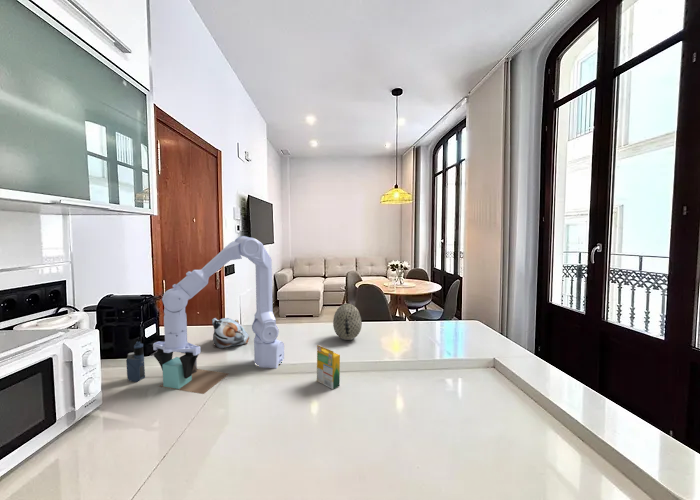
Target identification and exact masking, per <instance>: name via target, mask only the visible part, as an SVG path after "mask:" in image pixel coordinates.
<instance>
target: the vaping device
mask: <svg viewBox="0 0 700 500" xmlns="http://www.w3.org/2000/svg"><path fill="white" fill-rule="evenodd" d="M125 360H126V378H127V380H128V381H129V382H134V383H135V382H136V383H139V382H140V381H141V380H143V379H145V378H146V373H145V372H146V371H145V370H146V369H145V356H144V343H141V341H136V343H135V344H134V345H133V352H129V353H127V357H126V359H125Z"/></svg>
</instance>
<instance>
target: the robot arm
mask: <svg viewBox="0 0 700 500" xmlns="http://www.w3.org/2000/svg"><path fill="white" fill-rule="evenodd" d="M243 257H245V258H246V259H248V260H249V261H250V262H252V264H254V265H255V295H256V296H255V298H256V299H255V305H256V309H255V313H254V319H253V322H252V323H251V330H252V332H253V333H254V334H255V335H254V339H253V348H254V349H253V351H254V352H253V353H254V354H253V357H254V358H253V359H254V361H253V362H255V363H256V364H257V365H259V367H258V368H271V369H277V368H278V364H279V363H281V361H283V359H284V360H285V343H284V341H282V340H279V339H278V336H279V333H280V331H279V328H278V325H277V322H276V321H277V320H276V316H275V315H274V312H273V268H272V267H273V266H272V265H273V262H272V257H271V256H270V254H269V253H268V251H267V249H266V248H265V246H264V244H263V243H262V242H261V241H260V240H258V239H256V238H254V237H249V236H246V235H240V236H239V237H236V238H235V240H234V241H231V242H229V243H228V244H227V245H226V246H225V247H224V248H223V249H221V250H220V252H219V253H218V254H216V255H215V256H214V257H213V258H212V259H211V260H210V261H208V262H207V263H206V264H205V265H204V266H203V267H202V268H201V269H192V271H191V270H190V271H189V270H188V271H187V272H186V273H185V275H186V276H185V277H184V278H182V279H181V280H180V281H179V282H178V283H174V284H172V288H170V289H167V290H166V291H165V292H164V293H163V295H162V298H161V301H162V303H163V306H164V309H163V314H164V316H163V330H164V341H156V342H154V343H153V344H152V347H153V351H156V352H154V353H153V357H154V358H155V359H156V361H157V362H158V364H159V365H160V368H161V370H162V372H163V366H162V365H163V364H164V363H166V362H168V361H170V360H172V359H173V354H174V353H184V354H183V355H182V356H180V360H181V363H182V366H183V373H184V378H185V379H187V378H188V377H190V376H191V375H192V370H193V366H194V363H195V361H196V359H198V357H199V355H200V354H201V346H199V345H195V344H193V343H190V342H188V321H187V312H186V307H187V305H188V302H189V300H191V299H193V298H194V296H196V295H197V294H198V293H199V292H200V291H201V290H203V289H204V288H205V287H206V286H207V285H208V284H209V279H210V277H212V275H214V274H215V273H216V272H218V271H219V270H220V269H221V268H223V267H224V266H225V265H226V264H228V263H229V262H230V261H235V260H236V261H237V260H242V258H243Z"/></svg>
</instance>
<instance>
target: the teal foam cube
mask: <svg viewBox="0 0 700 500" xmlns="http://www.w3.org/2000/svg"><path fill="white" fill-rule="evenodd" d="M180 357H181V356H180ZM180 357H179V356H175V357H174V358H173V357H172V360H170V361H168V362H166V363H164V364H163V365H162V366H163V371H162V381H163V382H162V384H163V387H162V388H164V387H169V388H168V389H170V388H175V389H174V390H176V389H180V388H181V387H183V386H184V385H185V384H187V383H188V382H190V381H191V380H192V375H191V376H190V377H188V378H187V379H185V378H184V373H183V366H182V363H181V360H180Z"/></svg>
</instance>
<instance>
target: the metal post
mask: <svg viewBox="0 0 700 500" xmlns="http://www.w3.org/2000/svg"><path fill="white" fill-rule="evenodd" d="M197 359H198V358H197ZM197 359H196V361H195V363H194V366H193V370H192V374H193V373H196V372H197V369H198V363H197V362H198V361H197Z"/></svg>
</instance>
